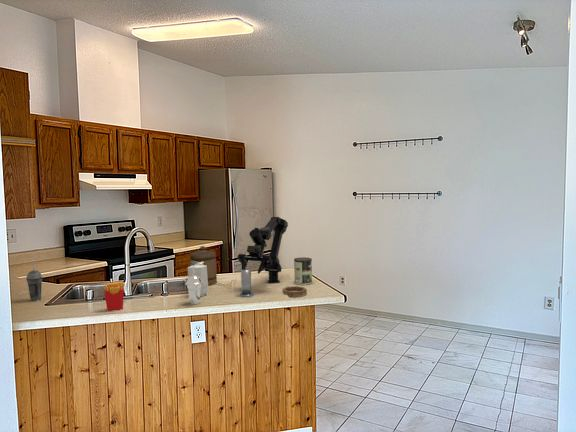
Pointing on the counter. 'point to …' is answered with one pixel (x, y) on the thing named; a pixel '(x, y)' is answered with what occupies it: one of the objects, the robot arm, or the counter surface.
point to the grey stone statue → (194, 287)
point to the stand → (246, 297)
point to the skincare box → (202, 273)
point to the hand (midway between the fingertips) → (250, 272)
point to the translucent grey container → (206, 263)
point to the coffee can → (303, 270)
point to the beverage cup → (34, 284)
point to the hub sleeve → (246, 283)
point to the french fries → (114, 295)
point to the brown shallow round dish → (295, 291)
